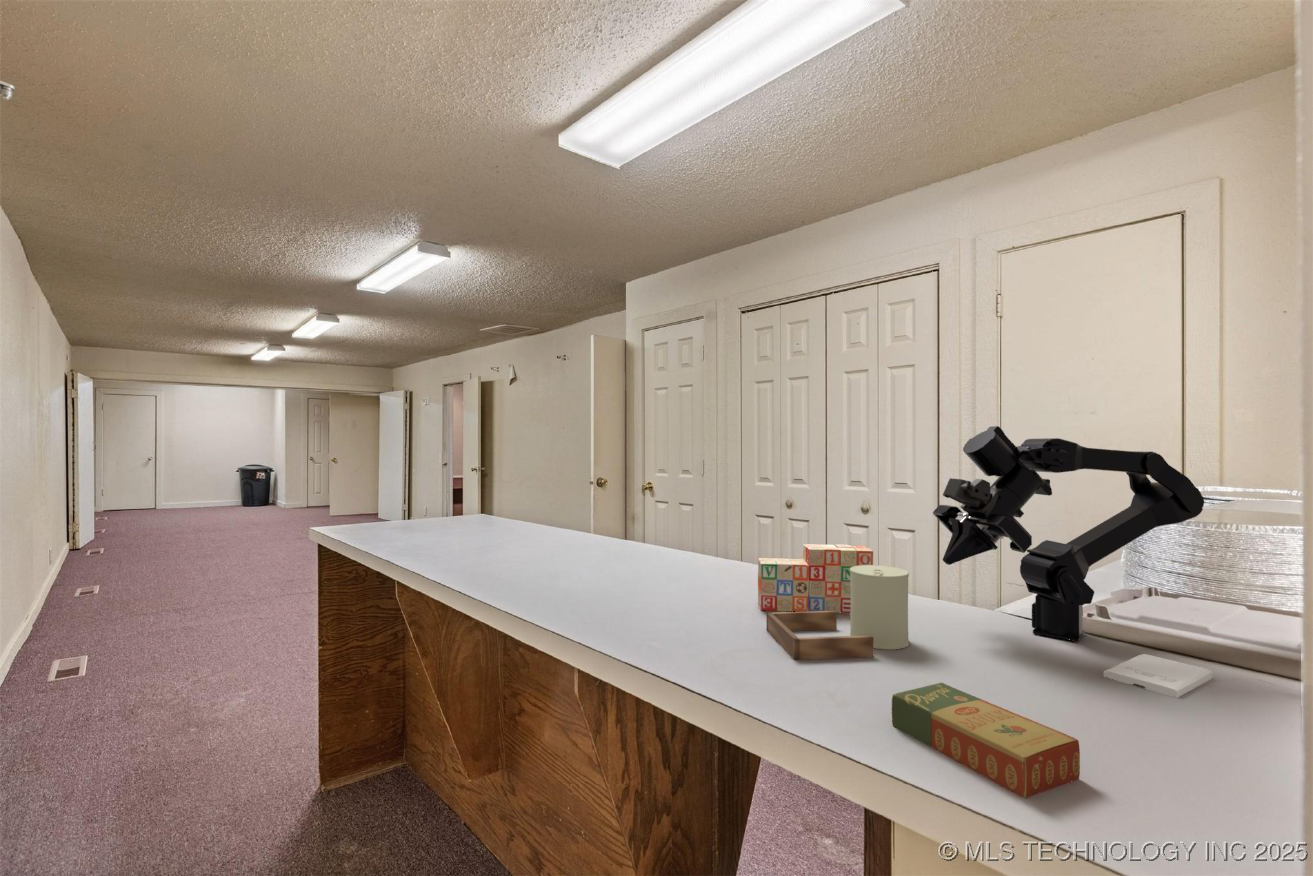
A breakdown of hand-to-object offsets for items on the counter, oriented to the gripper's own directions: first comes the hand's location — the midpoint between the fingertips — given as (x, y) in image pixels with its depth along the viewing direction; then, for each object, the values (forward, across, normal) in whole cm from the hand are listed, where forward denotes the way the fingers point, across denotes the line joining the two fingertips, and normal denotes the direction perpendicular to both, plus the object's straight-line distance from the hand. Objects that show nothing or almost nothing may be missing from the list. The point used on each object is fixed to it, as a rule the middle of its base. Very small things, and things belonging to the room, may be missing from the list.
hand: (945, 562), depth 101 cm
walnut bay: (+24, 0, -6) cm, 25 cm away
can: (+17, 0, +1) cm, 17 cm away
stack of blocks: (+20, -20, -2) cm, 28 cm away
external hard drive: (-4, +19, +23) cm, 30 cm away
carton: (+22, +35, -4) cm, 41 cm away
